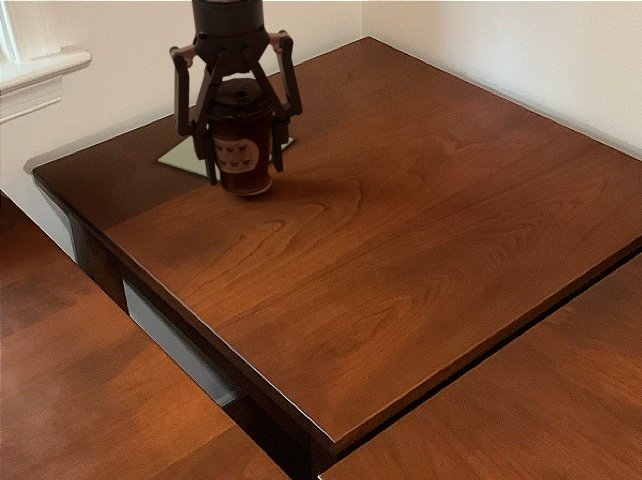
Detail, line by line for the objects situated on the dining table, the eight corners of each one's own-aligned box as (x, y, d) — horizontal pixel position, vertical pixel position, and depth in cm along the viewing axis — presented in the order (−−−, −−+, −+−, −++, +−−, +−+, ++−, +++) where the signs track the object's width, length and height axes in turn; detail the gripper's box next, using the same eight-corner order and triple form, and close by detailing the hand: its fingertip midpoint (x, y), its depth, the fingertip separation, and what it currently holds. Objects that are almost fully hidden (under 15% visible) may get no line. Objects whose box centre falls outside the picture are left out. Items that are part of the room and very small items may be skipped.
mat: (158, 161, 108) (157, 159, 108) (216, 119, 117) (215, 117, 117) (239, 186, 103) (239, 185, 103) (293, 140, 112) (293, 138, 112)
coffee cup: (262, 209, 98) (253, 112, 90) (200, 196, 100) (185, 100, 92) (290, 171, 104) (284, 77, 96) (231, 160, 106) (220, 68, 98)
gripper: (134, 16, 81) (167, 205, 96) (328, -11, 87) (333, 172, 101) (123, -10, 87) (156, 173, 101) (307, -34, 92) (314, 143, 107)
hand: (245, 172), depth 101 cm, fingers closed on coffee cup, 8 cm apart
